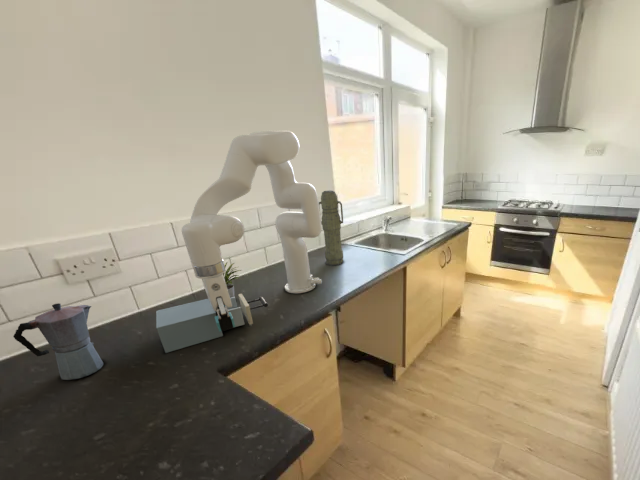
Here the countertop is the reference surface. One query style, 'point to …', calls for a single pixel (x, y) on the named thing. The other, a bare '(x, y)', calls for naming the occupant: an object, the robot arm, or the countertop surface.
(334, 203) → the thermos
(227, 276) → the house plant
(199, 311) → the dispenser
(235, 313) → the drawer
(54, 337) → the moka pot
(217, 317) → the teal block
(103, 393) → the countertop surface
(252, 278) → the countertop surface
